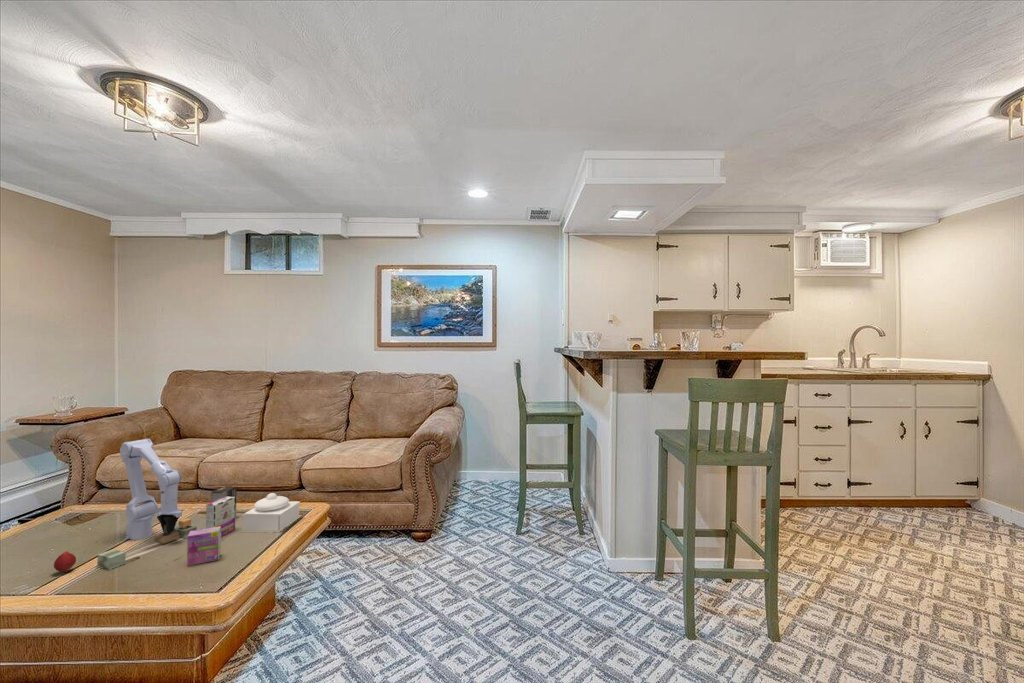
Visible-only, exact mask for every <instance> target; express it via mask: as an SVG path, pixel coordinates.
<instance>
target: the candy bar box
mask: <svg viewBox="0 0 1024 683" xmlns="http://www.w3.org/2000/svg"><path fill="white" fill-rule="evenodd" d="M205 510H206V512H205V513H206V514H205V515H206V516H205V517H206V518H205V529H207V528H213V527H219V526H221V538H222V537H224V536H226V535H228V534H231V533H232V532H234V531H236V518H235V497H229V496H227V497H224V498H222V499H219V500H217V501H214V502H212V501H211V502H210V503H207V504H206V506H205Z"/></svg>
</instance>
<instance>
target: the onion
mask: <svg viewBox="0 0 1024 683" xmlns="http://www.w3.org/2000/svg"><path fill="white" fill-rule="evenodd" d="M76 561H77V557H76V556H75V554H74V553H71V552H69V550H65V551H63V553H61V554H59V556H57V558H56V559H55V560H54V561H53V562H54V563H53V568H54V569H55V570H56V571H58V572H61V573H67V572H68V571H70V569H71V568H73V567H74V566H75V564H76ZM66 571H67V572H66Z"/></svg>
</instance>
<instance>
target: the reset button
mask: <svg viewBox="0 0 1024 683" xmlns="http://www.w3.org/2000/svg"><path fill="white" fill-rule="evenodd" d="M188 525H190V526H192V519H191V518H184V519H180V520H178V527H179V526H180V527H183V530H184V529H187V526H188Z"/></svg>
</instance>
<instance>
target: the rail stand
mask: <svg viewBox="0 0 1024 683" xmlns="http://www.w3.org/2000/svg"><path fill="white" fill-rule="evenodd" d="M194 530H198V529H197V526H194V525H188V526H187V529H184V530H183V527H180V526H179V525H178V526H177V527H176V526H175V528H174V531H175V532H179V538H177V539H174V540H172V541H169V542H166V543H160V542H155V543H152V544H150V545H147V546H144V547H142V548H138V549H135V550H132V551H130V552H127V553H126V552H125V551H121V550H118V549H114V548H113V549H110V550H107V551H104V552H101V553H99V554H97V562H96V563H97V567H98V566H100V567H99V568H101V567H103V568H102V569H105V568H107V569H106V570H108V569H111V570H113V569H116V568H119V567H121V566H124V565H126V564H127V563H126V562H128V563H130V562H133V561H135V559H136V560H138V559H141V558H140V557H141V556H142V555H143V556H144V554H148V553H151V552H153V551H156V550H157V549H161V548H164V547H166V546H169V545H172V544H174V543H176V542H179V541H183V540H186V539H188V534H189V533H190V531H194ZM132 560H133V561H132ZM129 561H130V562H129ZM123 564H124V565H123ZM120 565H121V566H120ZM118 566H119V567H118ZM115 567H116V568H115ZM112 568H113V569H112Z"/></svg>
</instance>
